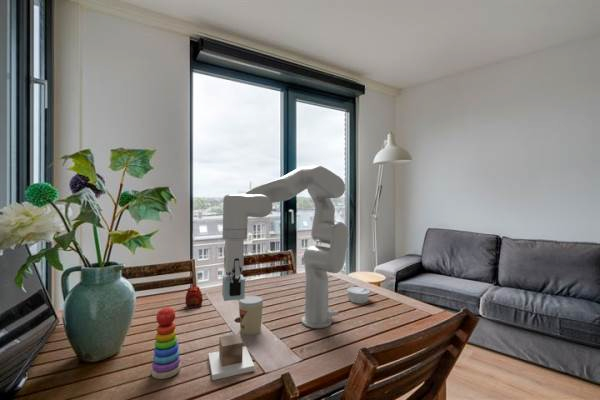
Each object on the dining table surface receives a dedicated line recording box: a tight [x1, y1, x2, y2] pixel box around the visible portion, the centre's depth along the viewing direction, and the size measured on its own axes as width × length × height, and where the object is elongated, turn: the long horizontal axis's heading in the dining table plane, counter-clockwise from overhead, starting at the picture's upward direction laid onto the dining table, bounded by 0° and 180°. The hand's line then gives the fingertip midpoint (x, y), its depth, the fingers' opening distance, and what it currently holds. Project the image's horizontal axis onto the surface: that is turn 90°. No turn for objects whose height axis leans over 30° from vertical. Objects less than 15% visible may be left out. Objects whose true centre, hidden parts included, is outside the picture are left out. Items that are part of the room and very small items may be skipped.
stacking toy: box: [151, 307, 182, 380], centre depth 84 cm, size 8×8×19 cm
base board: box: [208, 345, 255, 381], centre depth 88 cm, size 12×12×2 cm
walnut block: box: [218, 333, 244, 367], centre depth 88 cm, size 6×6×6 cm
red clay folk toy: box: [185, 274, 204, 309], centre depth 135 cm, size 8×7×15 cm
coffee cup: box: [238, 294, 264, 336], centre depth 111 cm, size 9×9×12 cm
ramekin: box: [346, 286, 371, 304], centre depth 145 cm, size 11×11×5 cm
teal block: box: [222, 273, 246, 302], centre depth 89 cm, size 6×6×6 cm
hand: (233, 291), depth 89 cm, fingers closed on teal block, 6 cm apart
